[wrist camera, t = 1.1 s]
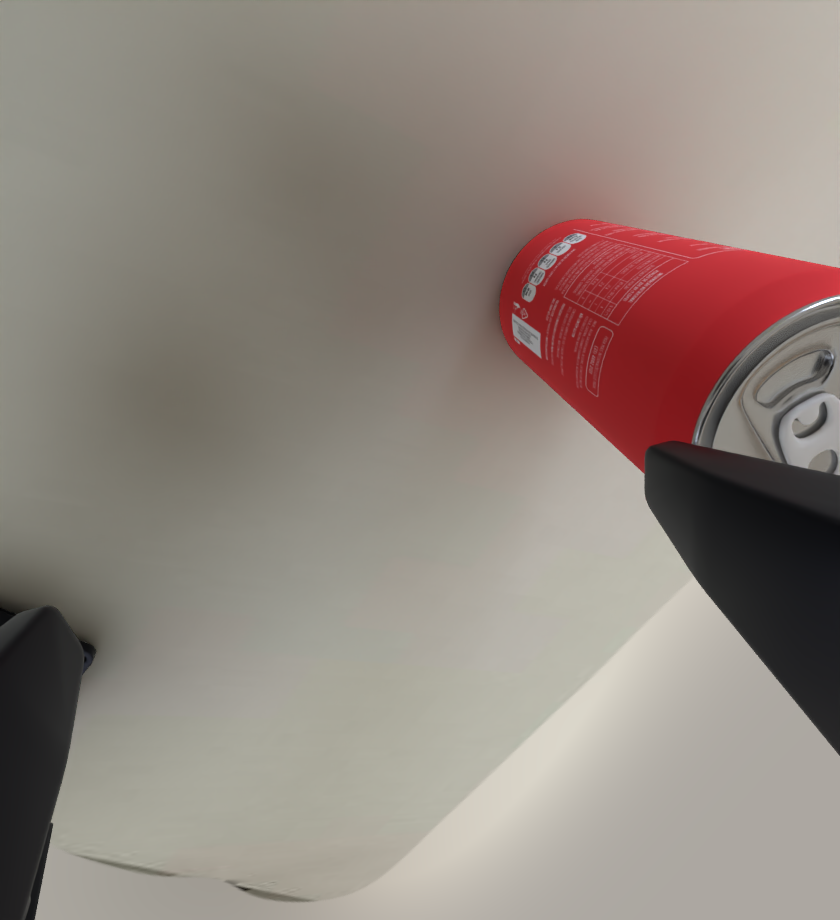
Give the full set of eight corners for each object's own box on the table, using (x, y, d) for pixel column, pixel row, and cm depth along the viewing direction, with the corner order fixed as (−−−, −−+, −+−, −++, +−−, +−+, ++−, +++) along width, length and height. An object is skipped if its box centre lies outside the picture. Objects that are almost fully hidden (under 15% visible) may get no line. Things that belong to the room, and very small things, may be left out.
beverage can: (595, 183, 19) (942, 208, 9) (648, 313, 22) (970, 455, 11) (463, 273, 20) (638, 397, 9) (529, 389, 22) (727, 593, 12)
